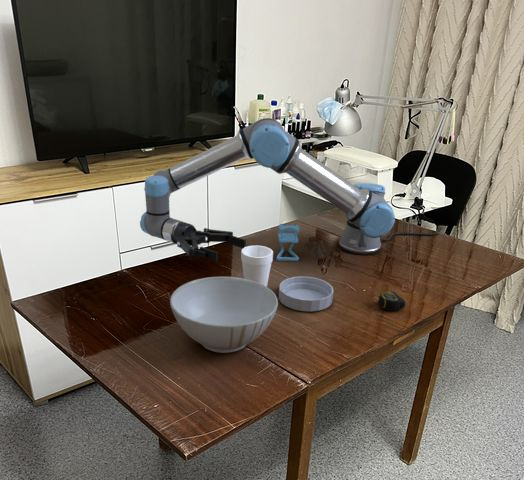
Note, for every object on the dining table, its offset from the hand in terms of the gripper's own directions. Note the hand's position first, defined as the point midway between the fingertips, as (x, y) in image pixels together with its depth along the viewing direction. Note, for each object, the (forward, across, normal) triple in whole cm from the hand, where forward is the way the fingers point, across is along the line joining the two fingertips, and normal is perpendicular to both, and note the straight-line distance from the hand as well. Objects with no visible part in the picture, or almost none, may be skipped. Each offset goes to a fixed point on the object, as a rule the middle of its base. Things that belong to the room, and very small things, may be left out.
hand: (231, 250), depth 167 cm
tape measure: (+46, -19, -11) cm, 51 cm away
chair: (+1, -30, -11) cm, 32 cm away
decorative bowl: (+21, +28, -11) cm, 37 cm away
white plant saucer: (+24, -5, -10) cm, 27 cm away
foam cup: (+10, 0, -11) cm, 15 cm away
